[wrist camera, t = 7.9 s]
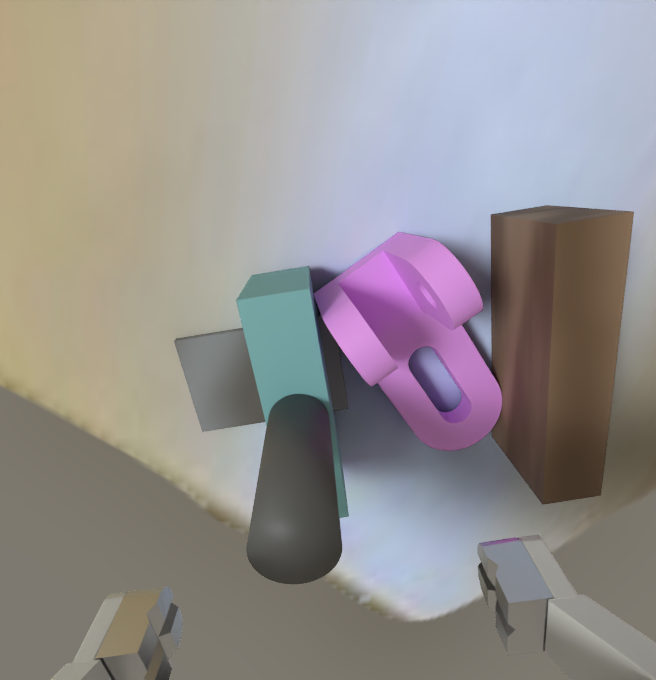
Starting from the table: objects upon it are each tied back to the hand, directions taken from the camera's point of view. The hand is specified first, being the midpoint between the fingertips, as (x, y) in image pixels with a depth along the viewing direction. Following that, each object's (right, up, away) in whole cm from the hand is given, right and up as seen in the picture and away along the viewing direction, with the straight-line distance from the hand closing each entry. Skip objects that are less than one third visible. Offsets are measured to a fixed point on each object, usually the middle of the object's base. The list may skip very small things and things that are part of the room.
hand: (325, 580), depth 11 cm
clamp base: (+2, +5, +13) cm, 14 cm away
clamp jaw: (-2, +5, +13) cm, 14 cm away
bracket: (+5, +6, +13) cm, 15 cm away
